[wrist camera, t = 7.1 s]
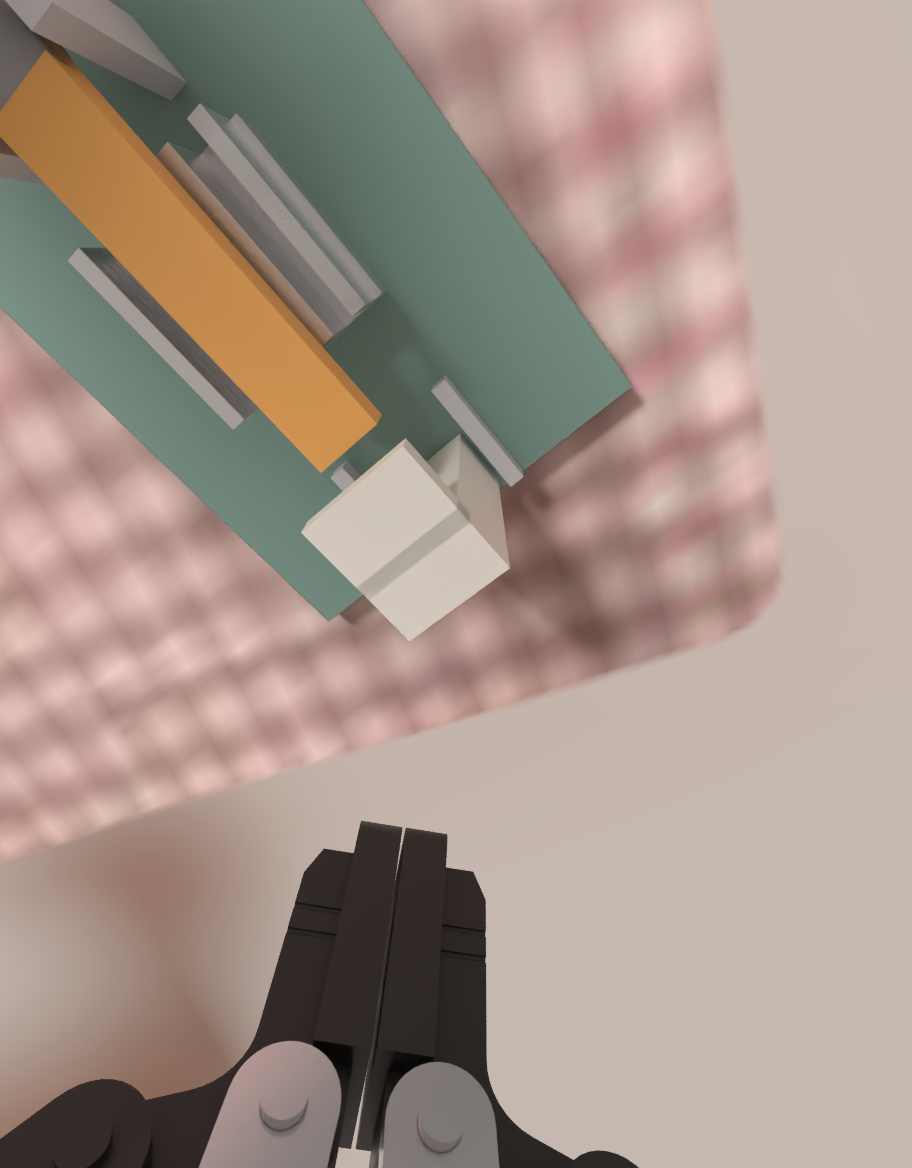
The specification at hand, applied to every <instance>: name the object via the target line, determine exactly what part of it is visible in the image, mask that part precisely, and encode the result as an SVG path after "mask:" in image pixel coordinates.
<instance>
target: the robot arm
mask: <svg viewBox="0 0 912 1168" xmlns="http://www.w3.org/2000/svg"><path fill="white" fill-rule="evenodd" d="M401 835H402V827H397V826H391V825H384V824H378V823H371V822H366V821H361V824H360V828H359V833H358V837H357V841H356V846H355V851H354V853H348V852H342V851H335V850H328V849H323V851H322V852H321V853H320V854H319V855H318V856H317V858H316V859H315V860H314V861H313V862H312V864H311V865H310V866H309V867H308V868H307V869H306V871H305V872H304V874H303V878H302V881H301V885H300V888H299V891H298V895H297V898H296V901H295V906H294V908H293V912H292V916H291V918H290V922H289V925H288V930H287V933H286V936H285V939H284V942H283V946H282V949H281V953H280V956H279V959H278V963H277V966H276V970H275V973H274V977H273V980H272V983H271V987H270V990H269V993H268V997H267V1000H266V1004H265V1007H264V1010H263V1014H262V1017H261V1021H260V1024H259V1028H258V1030H257V1033H256V1036H255V1038H254V1040H253V1042H252V1044H251V1045H250V1047H249V1049H248V1050H247V1052H246V1053H245V1054H244V1056H243V1057H242V1058H241V1059H240V1060H239V1062H238V1063H237V1064H236V1065H235V1066H234V1067H233V1068H231V1069H230V1070H229V1071H228V1072H227V1073H226V1074H224V1075H223V1076H221V1077H219V1078H218V1079H216V1080H215V1081H213V1082H211V1083H209V1084H207V1085H204V1086H202V1087H199V1088H196V1089H192V1090H189V1091H184V1092H179V1093H175V1094H171V1095H166V1096H162V1097H158V1098H153V1099H149V1100H145V1098H144V1097H143V1096H142V1095H141V1094H140V1092H139V1091H138V1090H137V1089H135V1088H134V1087H133V1086H131V1085H129V1084H127V1083H125V1082H122V1081H118V1080H113V1079H101V1080H95V1081H90V1082H87V1083H84V1084H80V1085H78V1086H76V1087H74V1088H72V1089H70V1090H68V1091H66V1092H64V1093H63V1094H61V1095H60V1096H58V1097H57V1098H55V1099H54V1100H53V1101H51V1102H50V1103H48V1104H47V1105H46V1106H45V1107H43V1108H42V1109H40V1110H39V1111H38V1112H36V1113H35V1114H34V1115H32V1116H31V1117H30V1118H28V1119H27V1120H25V1121H24V1122H23V1123H21V1124H20V1125H19V1126H18V1127H16V1128H15V1129H13V1130H12V1131H11V1132H9V1133H8V1134H7V1135H5V1136H4V1137H2V1138H1V1139H0V1168H335V1164H336V1159H337V1153H338V1148H339V1147H341V1148H348V1149H351V1145H352V1141H353V1136H354V1131H355V1126H356V1121H357V1116H358V1111H359V1106H360V1101H361V1096H362V1092H363V1086H364V1082H365V1088H364V1095H363V1103H362V1109H361V1116H360V1123H359V1130H358V1137H357V1144H356V1149H359V1150H366V1151H371V1156H370V1164H369V1168H638V1167H637V1166H636V1165H635V1164H633V1163H632V1162H630V1161H629V1160H628V1159H626V1158H624V1157H622V1156H620V1155H618V1154H615V1153H611V1152H607V1151H591V1152H587V1153H585V1154H582V1155H580V1156H579V1157H577V1158H576V1159H575V1160H572V1159H571V1158H569V1157H567V1156H565V1155H563V1154H562V1153H560V1152H558V1151H556V1150H554V1149H553V1148H551V1147H549V1146H547V1145H546V1144H544V1143H542V1142H540V1141H539V1140H537V1139H535V1138H533V1137H532V1136H530V1135H528V1134H527V1133H526V1132H524V1131H523V1130H521V1129H520V1128H519V1127H518V1126H517V1125H516V1124H515V1123H513V1121H512V1120H511V1119H510V1118H509V1117H508V1116H507V1115H506V1113H505V1112H504V1110H503V1109H502V1107H501V1106H500V1105H499V1103H498V1101H497V1099H496V1097H495V1095H494V1093H493V1090H492V1087H491V1084H490V1081H489V1076H488V1072H487V1060H486V1059H487V1058H486V963H485V958H486V937H485V931H486V914H485V913H486V908H485V907H486V906H485V904H486V902H485V898H484V895H483V893H482V891H481V889H480V886H479V884H478V882H477V880H476V877H475V875H474V873H473V872H471V871H465V870H458V869H451V868H446V855H447V834H442V833H436V832H430V831H424V830H417V829H411V828H406V829H405V834H404V839H403V844H402V849H401V854H400V860H399V865H398V870H397V863H398V856H399V849H400V842H401ZM396 870H397V875H396ZM395 877H396V880H395ZM394 884H395V885H394ZM366 1072H367V1074H366ZM365 1077H366V1081H365Z"/></svg>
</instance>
